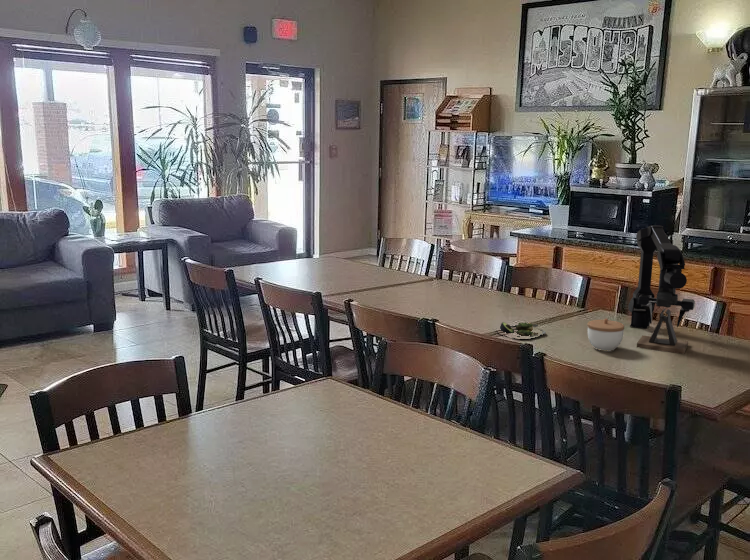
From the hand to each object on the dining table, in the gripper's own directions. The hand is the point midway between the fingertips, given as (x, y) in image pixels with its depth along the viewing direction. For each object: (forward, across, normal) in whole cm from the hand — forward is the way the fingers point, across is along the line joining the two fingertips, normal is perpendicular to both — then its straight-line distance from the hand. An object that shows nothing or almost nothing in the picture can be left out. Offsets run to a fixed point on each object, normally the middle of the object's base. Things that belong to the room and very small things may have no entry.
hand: (664, 325), depth 257 cm
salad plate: (+9, -51, -9) cm, 53 cm away
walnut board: (+8, 0, 0) cm, 8 cm away
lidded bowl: (+8, -18, -13) cm, 24 cm away
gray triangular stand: (+7, 0, 0) cm, 7 cm away
